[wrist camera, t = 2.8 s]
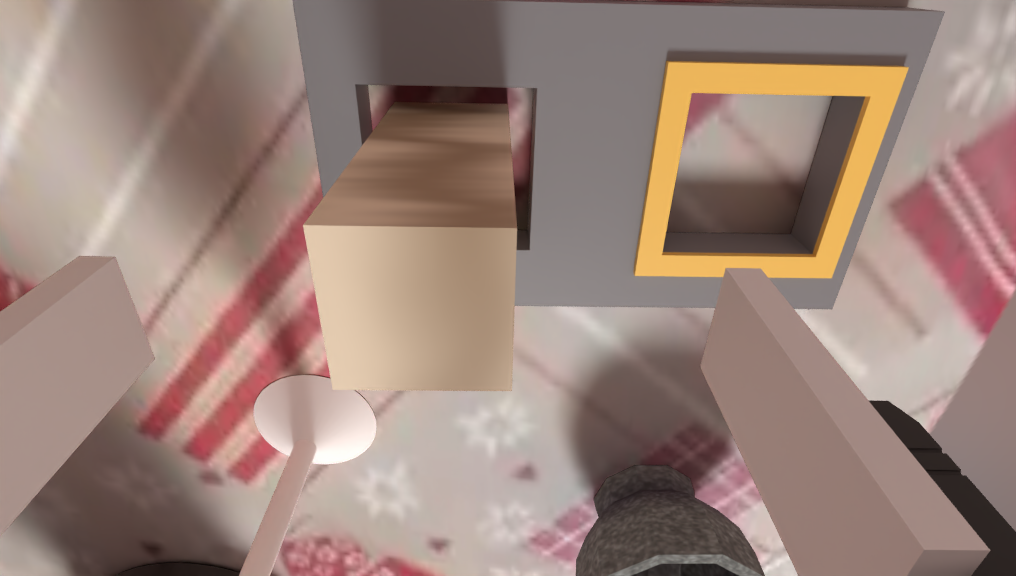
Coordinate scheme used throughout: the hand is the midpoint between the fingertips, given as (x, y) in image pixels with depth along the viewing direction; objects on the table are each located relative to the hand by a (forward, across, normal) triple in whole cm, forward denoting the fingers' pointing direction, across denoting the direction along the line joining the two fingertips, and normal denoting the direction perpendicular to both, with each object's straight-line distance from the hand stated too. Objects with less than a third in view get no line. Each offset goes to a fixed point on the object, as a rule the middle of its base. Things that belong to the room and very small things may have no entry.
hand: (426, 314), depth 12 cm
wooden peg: (+12, 0, 0) cm, 12 cm away
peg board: (+12, +6, 0) cm, 14 cm away
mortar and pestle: (+12, +11, -22) cm, 28 cm away
